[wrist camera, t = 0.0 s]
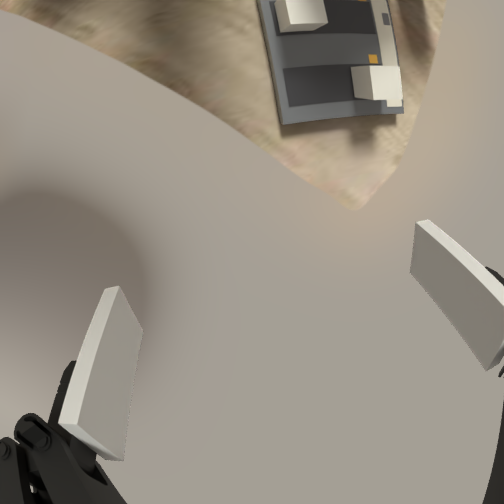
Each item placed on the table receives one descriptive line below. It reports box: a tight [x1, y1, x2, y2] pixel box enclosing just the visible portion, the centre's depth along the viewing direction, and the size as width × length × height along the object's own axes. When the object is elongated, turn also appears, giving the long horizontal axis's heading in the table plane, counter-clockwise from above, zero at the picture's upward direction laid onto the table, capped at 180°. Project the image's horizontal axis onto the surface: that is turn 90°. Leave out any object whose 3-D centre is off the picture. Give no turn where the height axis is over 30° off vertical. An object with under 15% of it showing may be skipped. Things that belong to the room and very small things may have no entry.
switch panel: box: [257, 0, 404, 125], centre depth 30 cm, size 18×17×2 cm
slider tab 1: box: [274, 0, 328, 33], centre depth 24 cm, size 4×4×5 cm
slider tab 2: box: [351, 66, 403, 100], centre depth 29 cm, size 4×4×5 cm
